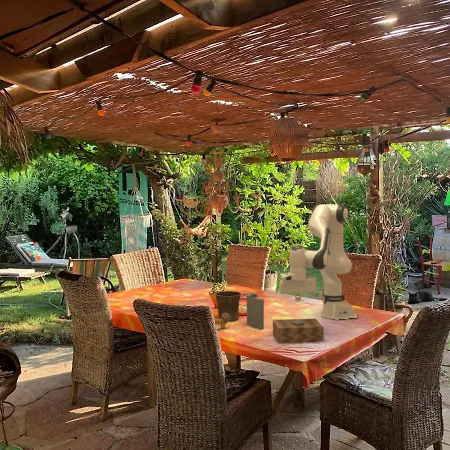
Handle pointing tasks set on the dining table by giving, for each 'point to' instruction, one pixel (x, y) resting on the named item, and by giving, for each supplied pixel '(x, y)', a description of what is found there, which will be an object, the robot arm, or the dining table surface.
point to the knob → (297, 322)
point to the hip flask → (255, 311)
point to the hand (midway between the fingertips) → (298, 300)
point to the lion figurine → (222, 320)
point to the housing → (298, 331)
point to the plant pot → (228, 304)
